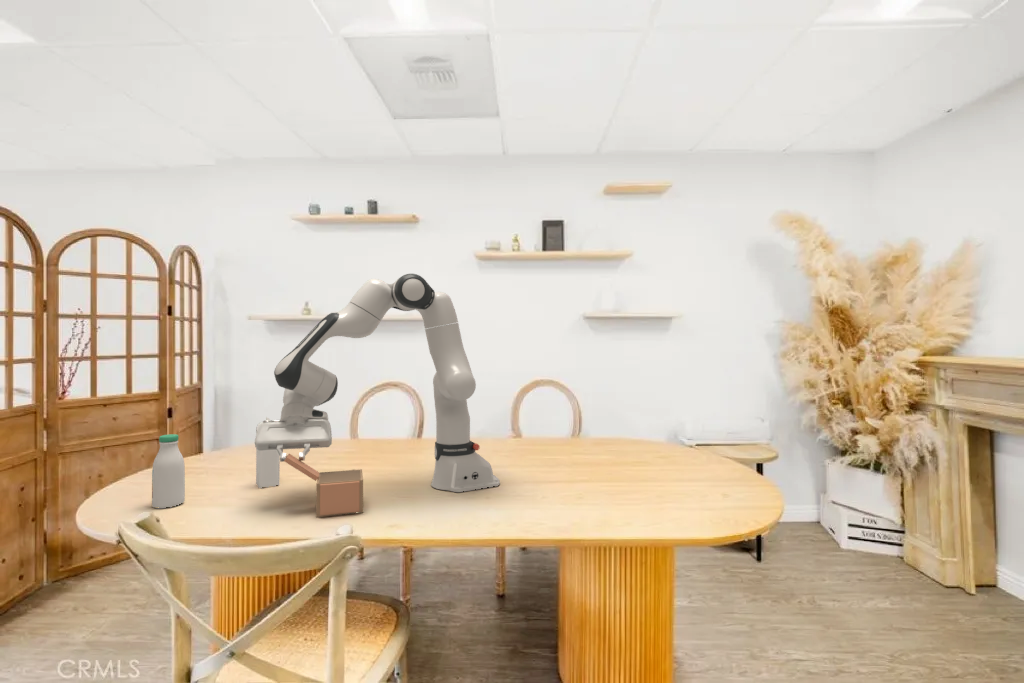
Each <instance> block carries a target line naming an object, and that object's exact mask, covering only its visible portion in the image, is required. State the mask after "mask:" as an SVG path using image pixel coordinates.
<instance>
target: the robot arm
mask: <svg viewBox="0 0 1024 683" xmlns="http://www.w3.org/2000/svg"><path fill="white" fill-rule="evenodd" d="M390 309H396V310H399V311H403V312H410V311H415V310H416V311H417V312H418V313H420V316H421V317H422V320H423V326H424V330H425V336H426V341H427V345H428V351H429V354H430V356H431V359H432V362H433V364H434V368H435V374H434V375H433V379H432V384H433V398H434V407H435V418H436V420H435V422H436V424H435V426H436V428H435V429H436V432H435V433H436V439H435V442H434V459H435V465H434V471H433V476H432V480H431V484H430V485H431V487H432V488H434V489H437V490H442V491H449V492H450V491H451V492H455V493H464V492H469V491H476V490H482V489H481V488H483V489H488V488H487V487H489V488H493V486H495V487H499V486H498V485H500V483H501V482H500V479H499V477H498V476H496V475H494V473H493V468H492V465H491V463H490V462H489V461H488V460H486V459H485V458H484V457H482V455H480V454H478V452H476V451H479V450H480V448H481V447H480V445H479V443H476V442H474V441H472V440H471V418H470V413H469V409H468V402H467V400H468V399H470V398H471V397H472V396H473V395H474V393H475V391H476V386H477V383H476V379H475V378H474V375H473V371H472V368H471V365H470V362H469V359H468V357H467V353H466V351H465V348H464V344H463V340H462V335H461V329H460V324H459V321H458V316H457V313H456V309H455V306H454V304H453V301H452V298H451V297H450V296H449V294H448V293H446V292H442V291H435V289H434V288H432V287H431V286H430V284H429V283H428V282H427V280H426V279H425V278H424V277H423V276H421V275H420V274H416V273H406V274H403V275H402V276H400V277H398V278H397V279H396V280H395V281H394V282H393V283H386V282H385V281H383V280H381V279H379V278H371V279H368V280H367V281H365V283H363V284H362V286H361V287H360V288H358V290H357V291H356V292H355V294H354V295H353V296H352V297H351V299H350V300H349V302H348V304H346V306H345V307H344V308H342V309H341V310H339V311H338V312H330V313H329V314H327V315H326V316H325V317H323V318H322V319H321V320H320V321H319V322H318V323H317V324H316V325H315V326H314V327H313V328H312V329H311V330H310V331H309V332H308V333H307V335H305V337H304V338H303V339H302V340H301V341H300V342H299V343H298V344H297V345H296V346H295V347H294V348H293V349H292V350H291V351H290V352H289V353H288V354H286V355H285V356H284V357H283V358H282V359H281V360H280V361H279V362H278V363H277V365H276V367H275V368H274V371H273V374H274V379H275V381H276V383H277V385H278V387H281V388H283V389H284V392H283V397H282V398H283V399H282V401H283V402H282V403H283V406H282V408H281V411H280V419H272V420H271V419H270V421H268V420H266V419H265V420H263V421H261V422H259V423H258V424H257V426H256V427H257V429H255V430H256V431H255V433H256V432H257V434H255V439H254V446H255V449H256V448H257V449H258V450H277V452H278V454H279V455H280V462H281V463H282V462H285V461H284V460H285V459H286V457H287V456H288V455H287V453H286V452H284V450H296V449H298V450H299V449H303V451H302V452H299V453H298V454H299V455H298V459H299V461H302V462H303V461H306V456H307V454H309V453H310V450H311V449H320V448H329V447H330V446H331V445H332V444H333V442H332V441H333V436H332V435H333V434H332V428H331V423H330V421H329V415H328V412H326V411H323V410H320V409H315V407H318V406H321V405H323V404H325V403H327V402H330V401H331V400H332V399H334V397H335V396H336V394H337V391H338V386H339V385H338V383H339V382H338V381H339V380H338V378H337V376H336V374H334V373H333V372H331V371H329V370H327V369H325V368H323V367H321V366H319V365H317V364H315V363H313V362H311V361H310V360H309V359H310V358H311V357H312V356H313V354H315V352H317V350H318V349H319V348H320V347H321V346H323V344H324V343H325V342H326V341H327V340H328V339H330V338H333V337H344V338H345V337H346V338H351V339H362V338H363V339H364V338H367V337H368V336H370V335H371V334H373V333H374V331H375V330H376V329H377V328H378V327H379V325H380V323H381V321H382V320H383V318H384V317H385V315H386V313H387V312H388V311H389V310H390ZM475 489H476V490H475ZM463 491H464V492H463Z"/></svg>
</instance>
